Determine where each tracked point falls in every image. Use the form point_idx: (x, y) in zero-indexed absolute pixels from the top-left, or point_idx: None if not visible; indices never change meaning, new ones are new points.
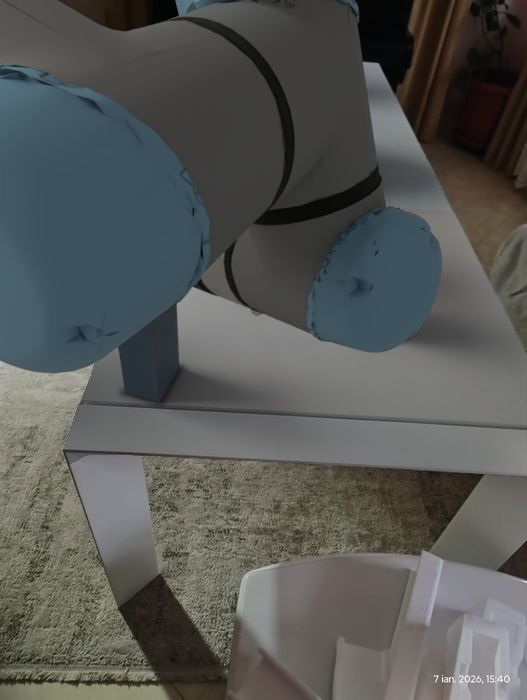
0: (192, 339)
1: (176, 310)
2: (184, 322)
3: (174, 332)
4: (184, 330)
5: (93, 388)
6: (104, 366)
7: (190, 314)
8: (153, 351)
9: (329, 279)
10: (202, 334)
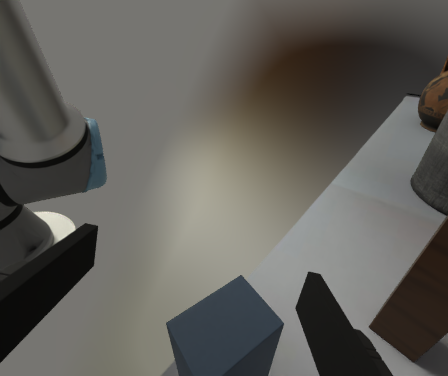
0: (291, 367)
1: (268, 371)
2: (293, 335)
3: None
4: (288, 347)
5: (165, 372)
6: None
7: None
8: None
9: None
10: (306, 366)
